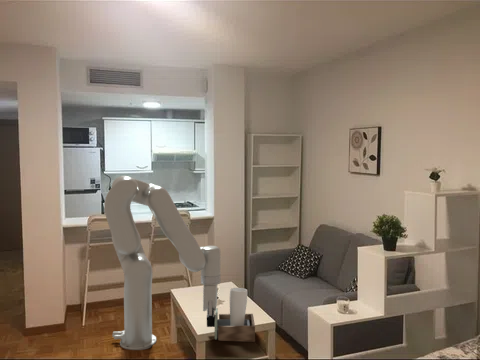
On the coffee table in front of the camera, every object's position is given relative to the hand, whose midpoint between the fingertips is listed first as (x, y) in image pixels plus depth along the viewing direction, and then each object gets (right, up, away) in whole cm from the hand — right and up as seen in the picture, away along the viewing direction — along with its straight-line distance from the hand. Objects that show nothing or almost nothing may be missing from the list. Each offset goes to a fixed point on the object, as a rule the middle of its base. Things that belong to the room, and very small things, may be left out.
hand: (211, 325), depth 153 cm
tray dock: (+10, -4, 0) cm, 10 cm away
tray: (+8, -2, 0) cm, 9 cm away
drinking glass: (+10, -1, 0) cm, 10 cm away
